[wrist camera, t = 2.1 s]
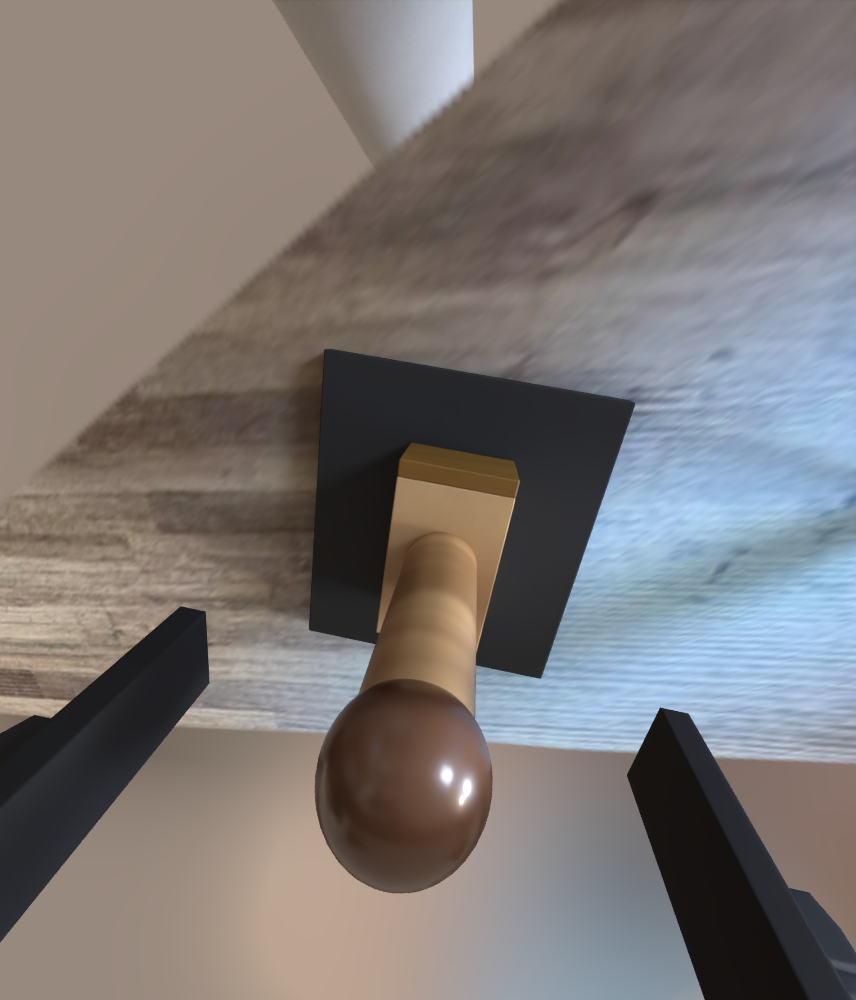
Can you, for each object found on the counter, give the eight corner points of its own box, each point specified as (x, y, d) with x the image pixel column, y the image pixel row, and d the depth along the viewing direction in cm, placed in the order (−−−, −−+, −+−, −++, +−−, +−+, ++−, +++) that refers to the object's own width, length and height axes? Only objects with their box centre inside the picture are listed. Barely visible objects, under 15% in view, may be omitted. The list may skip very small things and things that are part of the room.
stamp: (410, 441, 19) (255, 664, 6) (514, 460, 19) (597, 739, 6) (388, 597, 23) (257, 964, 9) (476, 615, 22) (472, 1019, 9)
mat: (329, 348, 19) (323, 349, 18) (630, 400, 18) (636, 402, 18) (313, 622, 25) (308, 630, 24) (539, 669, 24) (541, 679, 24)
